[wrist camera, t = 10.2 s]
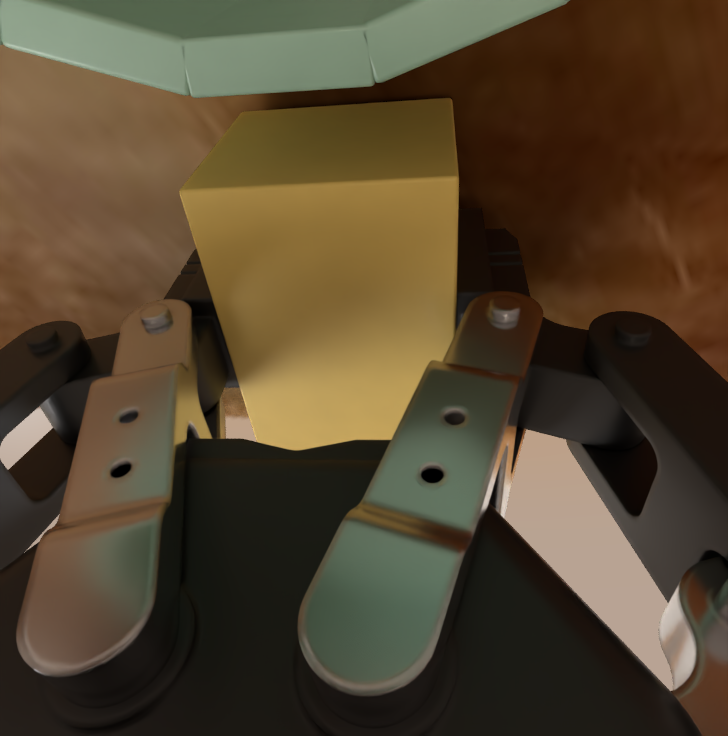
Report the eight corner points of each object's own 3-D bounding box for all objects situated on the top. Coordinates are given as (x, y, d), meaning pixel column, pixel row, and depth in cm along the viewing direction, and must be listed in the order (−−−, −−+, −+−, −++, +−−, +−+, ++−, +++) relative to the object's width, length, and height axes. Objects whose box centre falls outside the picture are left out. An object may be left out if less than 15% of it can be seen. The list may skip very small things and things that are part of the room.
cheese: (292, 348, 16) (260, 456, 13) (240, 111, 12) (177, 190, 9) (449, 346, 16) (453, 459, 13) (452, 96, 11) (459, 176, 8)
